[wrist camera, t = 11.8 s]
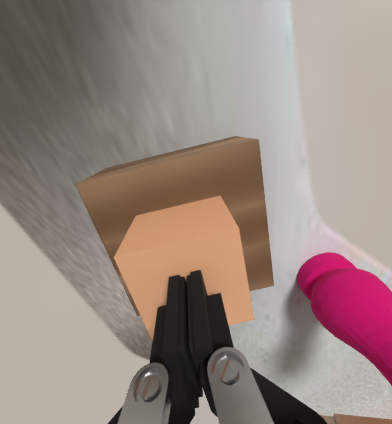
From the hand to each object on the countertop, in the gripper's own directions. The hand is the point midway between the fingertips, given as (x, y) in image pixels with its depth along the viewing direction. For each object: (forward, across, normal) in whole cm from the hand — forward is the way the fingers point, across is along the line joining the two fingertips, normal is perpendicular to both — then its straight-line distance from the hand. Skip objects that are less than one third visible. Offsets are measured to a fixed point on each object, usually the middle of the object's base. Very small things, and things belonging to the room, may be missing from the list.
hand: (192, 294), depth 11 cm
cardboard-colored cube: (+5, 0, 0) cm, 5 cm away
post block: (+11, 0, 0) cm, 11 cm away
